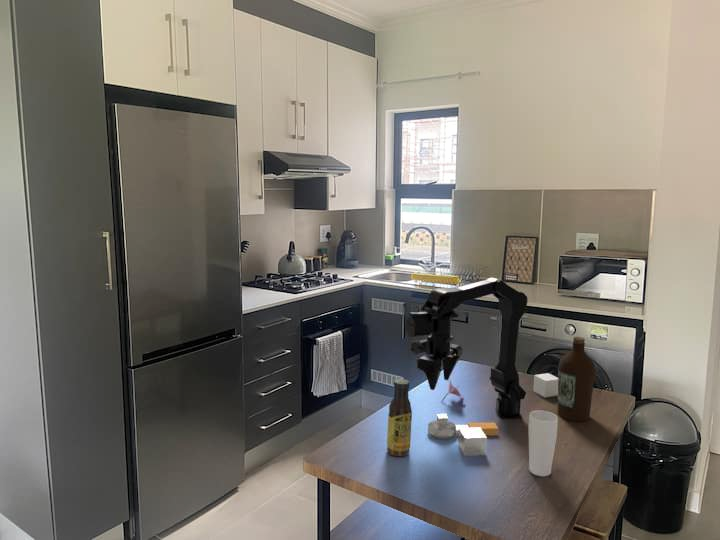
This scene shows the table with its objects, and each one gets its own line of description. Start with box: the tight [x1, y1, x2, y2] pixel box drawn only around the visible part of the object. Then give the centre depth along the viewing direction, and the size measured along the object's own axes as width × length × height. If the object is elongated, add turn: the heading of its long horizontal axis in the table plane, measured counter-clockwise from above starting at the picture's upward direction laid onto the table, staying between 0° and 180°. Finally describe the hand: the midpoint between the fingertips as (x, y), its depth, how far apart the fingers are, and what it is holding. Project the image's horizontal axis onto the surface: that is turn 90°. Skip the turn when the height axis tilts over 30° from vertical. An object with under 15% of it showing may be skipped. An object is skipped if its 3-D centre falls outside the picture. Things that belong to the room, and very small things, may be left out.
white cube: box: [532, 372, 558, 398], centre depth 184 cm, size 6×6×6 cm
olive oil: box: [556, 336, 596, 422], centre depth 165 cm, size 11×11×25 cm
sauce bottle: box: [386, 378, 413, 457], centre depth 142 cm, size 6×6×20 cm
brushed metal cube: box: [457, 427, 488, 457], centre depth 144 cm, size 6×6×5 cm
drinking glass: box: [528, 409, 559, 478], centre depth 133 cm, size 7×7×15 cm
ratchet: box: [427, 413, 499, 441], centre depth 154 cm, size 20×8×5 cm, turn 94°
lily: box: [440, 376, 466, 405], centre depth 176 cm, size 12×12×10 cm
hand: (439, 384), depth 156 cm, fingers open, 9 cm apart
